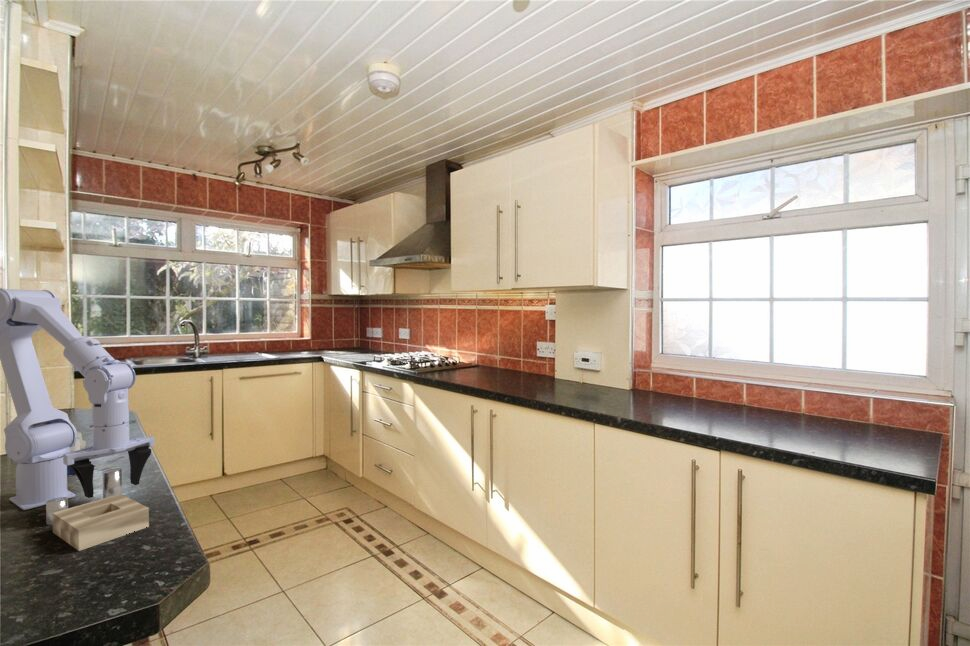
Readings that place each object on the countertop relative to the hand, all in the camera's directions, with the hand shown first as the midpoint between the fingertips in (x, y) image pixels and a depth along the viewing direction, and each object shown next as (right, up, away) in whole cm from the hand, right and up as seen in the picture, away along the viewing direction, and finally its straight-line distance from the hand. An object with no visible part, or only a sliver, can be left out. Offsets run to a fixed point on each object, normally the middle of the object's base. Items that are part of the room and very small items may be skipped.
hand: (112, 490), depth 93 cm
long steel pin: (0, -3, 0) cm, 3 cm away
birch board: (+6, -3, -10) cm, 13 cm away
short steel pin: (-5, -3, -7) cm, 9 cm away
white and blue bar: (-31, -3, +26) cm, 41 cm away
